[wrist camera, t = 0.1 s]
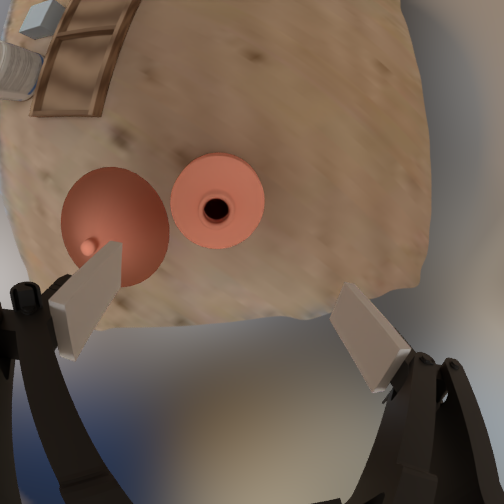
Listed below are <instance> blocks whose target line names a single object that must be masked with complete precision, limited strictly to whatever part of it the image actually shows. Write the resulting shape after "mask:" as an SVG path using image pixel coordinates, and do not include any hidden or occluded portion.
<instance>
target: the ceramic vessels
mask: <svg viewBox="0 0 504 504" xmlns="http://www.w3.org/2000/svg"><path fill="white" fill-rule="evenodd" d="M264 204H265V199H264V191H263V188H262V185H261V182H260V180H259V178H258V176H257V174H256V172H255V171H254V170H253V168H252V167H251V166H250V165H249V164H248V163H247V162H245V161H244V160H243V159H241V158H239V157H237V156H235V155H231V154H228V153H210V154H206V155H203V156H200V157H198V158H196V159H195V160H193V161H192V162H190V163H189V164H188V165H187V166H186V167H185V168H184V170H183V171H182V172H181V174H180V175H179V176H178V178H177V179H176V181H175V184H174V186H173V188H172V193H171V203H170V206H171V212H172V216H173V218H174V221H175V223H176V225H177V227H178V228H179V230H180V231H181V232H182V233H183V235H184V236H185V237H186V238H188V239H189V240H190V241H192V242H193V243H195V244H198V245H200V246H202V247H206V248H211V249H222V248H228V247H231V246H234V245H237V244H239V243H240V242H242V241H244V240H245V239H246V238H247V237H249V236H250V235H251V234H252V232H253V231H254V230H255V229H256V228H257V226H258V224H259V222H260V220H261V218H262V215H263V211H264ZM61 230H62V236H63V240H64V244H65V247H66V249H67V251H68V253H69V255H70V257H71V258H72V260H73V261H74V263H75V264H76V265H77V266H78V268H79V269H80V268H81V267H82V266H83V265H84V264H85V263H86V262H87V261H88V260H89V259H90V258H91V257H93V256H94V255H95V254H96V253H97V252H98V251H99V250H100V249H101V248H102V247H104V246H105V245H106V244H107V243H108V242H109V241H116V242H121V243H123V244H122V263H121V287H127V286H132V285H135V284H138V283H141V282H142V281H144V280H146V279H147V278H149V277H150V276H151V275H152V274H153V273H154V272H155V271H156V270H157V269H158V267H159V266H160V264H161V263H162V261H163V259H164V257H165V254H166V252H167V248H168V243H169V223H168V217H167V213H166V210H165V208H164V205H163V203H162V201H161V199H160V197H159V196H158V194H157V193H156V191H155V190H154V189H153V188H152V187H151V185H150V184H149V183H148V182H147V181H146V180H144V179H143V178H141V177H140V176H139V175H137V174H136V173H133V172H131V171H129V170H126V169H122V168H117V167H103V168H100V169H96V170H93V171H91V172H89V173H87V174H85V175H84V176H82V177H81V178H80V179H79V180H78V181H77V182H76V183H75V184H74V185H73V187H72V188H71V189H70V191H69V193H68V195H67V197H66V199H65V201H64V205H63V209H62V214H61Z"/></svg>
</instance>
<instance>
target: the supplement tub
mask: <svg viewBox="0 0 504 504" xmlns="http://www.w3.org/2000/svg"><path fill="white" fill-rule="evenodd" d="M44 59H45V58H44V57H43V56H42V55H40V54H38V53H35V52H32V51H30V50H27V49H24V48H22V47H19V46H16V45H13V44H10V43H7V42H3V41H0V99H3V100H13V101H24V100H27V99H29V98H30V97H31V96H33V95H34V92H35V88H36V84H37V81H38V77H39V74H40V71H41V68H42V65H43V62H44Z"/></svg>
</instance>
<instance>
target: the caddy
mask: <svg viewBox="0 0 504 504" xmlns="http://www.w3.org/2000/svg"><path fill="white" fill-rule="evenodd" d="M140 2H141V0H70V1H69V3H68V5H67V7H66V9H65V11H64V13H63V15H62V17H61V19H60V21H59V24H58V26H57V28H56V30H55V33H54V35H53V38H52V40H51V42H50V45H49V48H48V50H47V53H46V56H45V59H44V62H43V65H42V68H41V71H40V74H39V77H38V81H37V84H36V88H35V92H34V96H33V100H32V104H31V108H30V113H29V116H31V117H101V115H102V111H103V106H104V102H105V98H106V95H107V91H108V87H109V84H110V80H111V77H112V73H113V70H114V67H115V64H116V61H117V58H118V55H119V52H120V49H121V47H122V44H123V41H124V39H125V36H126V34H127V31H128V29H129V26H130V24H131V21H132V19H133V17H134V15H135V12H136V10H137V8H138V6H139V4H140Z"/></svg>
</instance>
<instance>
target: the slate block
mask: <svg viewBox="0 0 504 504" xmlns="http://www.w3.org/2000/svg"><path fill="white" fill-rule="evenodd" d="M65 9H66V8H64V7H63V6H62V5H61V4H59V3H58V2H57V1H55V0H48V1H45V2H42V3H39V4H36V5H34V6H31V8H30V10H29V12H28V14H27V16H26V18H25V20H24V22H23V24H22V26H21V29H20V31H19V33H22V34H24V35H26V36H28V37H30V38H32V39H39V38H43V37H47V36H52V35H54V33H55V30H56V28H57V26H58V24H59V21H60V19H61V17H62V15H63V13H64V11H65Z"/></svg>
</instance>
